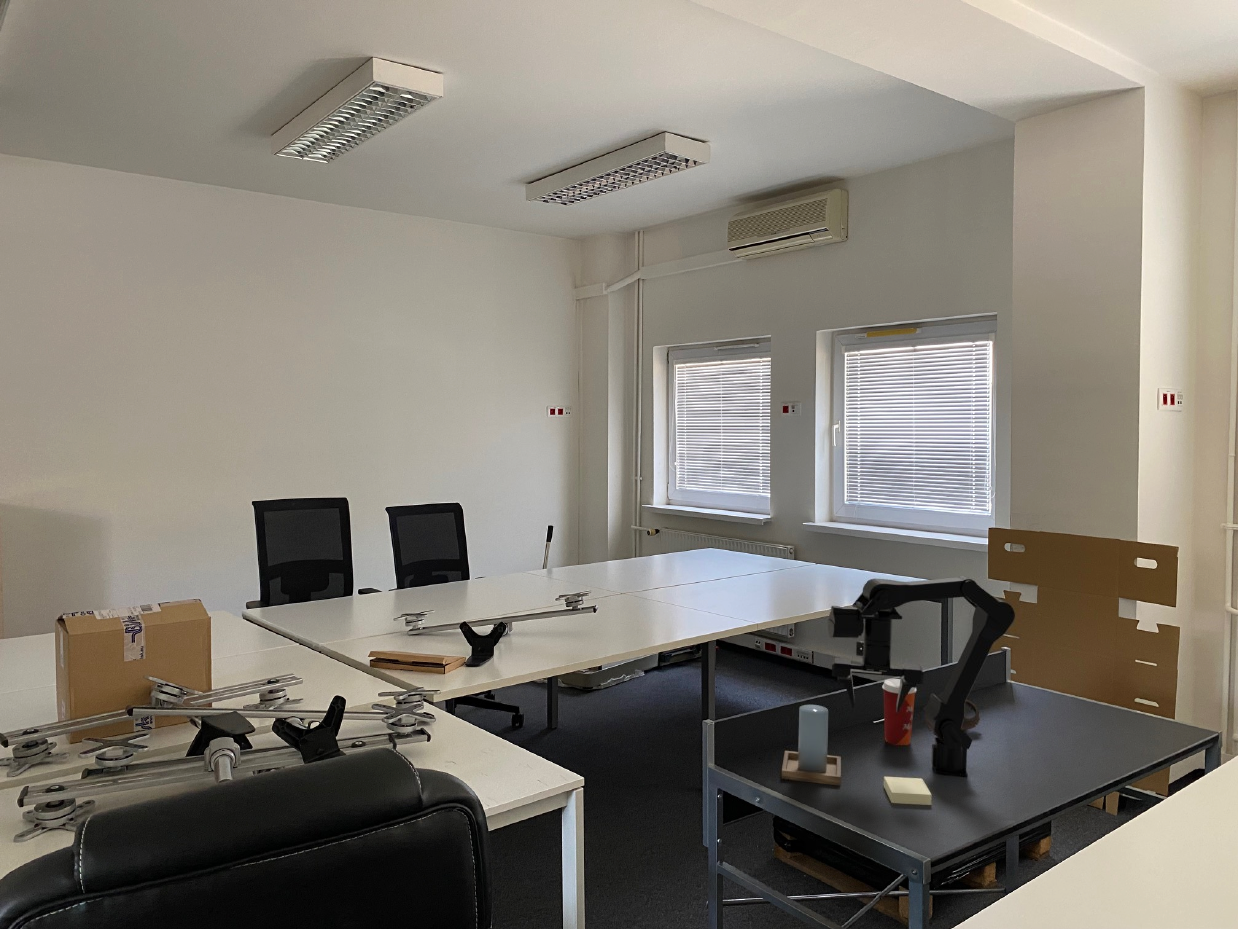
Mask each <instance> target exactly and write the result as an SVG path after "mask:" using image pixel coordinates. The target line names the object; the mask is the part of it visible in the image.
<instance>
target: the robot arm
mask: <svg viewBox="0 0 1238 929" xmlns="http://www.w3.org/2000/svg"><path fill="white" fill-rule="evenodd" d="M956 598H963V599H964V600H965V601H967V602H968V604H970V605H971V606H972V607H974V612H973V615H972V624H971V625H972V629H971V630H972V631H971V633H970V636H969V638H968V640H967V642H966V644H965V647H964V649H963V651H962V652H961V654H960V657H959V659H958V661H957V663H956V665H955V668H954V669H953V672H952V673H951V676H950V677H949V680H948V682H947V684H946V686H945V688H944V690H943V691H941V693H939V695H936V694H934V693H931V694H930V696H929V697H928V701H927V704H925V706H924V707H923V708H922V710H923V711H924V713H923V714H924V715H923V718H924V721H925V724H926V726H928V728H929V729H930V730H931V731H932V734H933V735H934V736H935V737H934V744H932V745H931V757H930V759H931V761H930V762H931V763H930V764H931V766H932V768H934V771H935V773H936V774H940V775H941V774H942V775H950V776H952V775H953V776H961V777H968V776H969V774H968V771H967V763H968V762H967V761H968V760H967V759H968V750H970V748H971V746H972V743H973V739H972V738H971V737H970V736H969V735H968V734H967V733H966V732H965V730H964V731H963V730H962V729H961V728H962V725H963V721H964V716H966V714H965V713H966V711H965V710H966V706H965V702H966V700H968V697H969V695H970V693H971V690H972V689H973V687H974V685H975V682H976V681H977V678H978V676H979V675H980V672H981V670H982V668H983V667H984V666H983V665H985V662H986V660H987V658H988V656H989V654H990V651H991V649H992V648H993V645H994V644H995V643H996V642H997V641H998V640H999V639H1000V638H1002V636H1004V635H1006V633H1007V631H1008V630H1009V629H1010V627H1012V624H1014V622H1015V619H1016V612H1015V610H1014V608H1013V607H1012V605H1011V604H1009V603H1008V602H1006V601H1004V600H1002V599H1000V598H998V597H995V596H993V595H992V594H990V593H989V592H987V590H985V589H984V588H982V587H981V586H980V585H979V584H977V582H976V581H975V580H974V579H971V578H969V577H967V576H965V575H960V576H957V577H946V578H937V579H936V578H935V579H934V578H933V579H926V580H925V579H924V580H912V581H901V580H894V579H888V578H886V579H885V578H872V579H867V581H866V582H865V583H864V584H863V587H862V592H861V593H860V595H859V596H858V597H857V599H856V600H855V601H854V602H853V604H852V605H851V606H839V605H831V607H830V612H829V614H828V615H829V616H828V618H827V631H828V636H829V638H830V639H858V638H859V637H861V636H862V634H863V641H856V643H855V645H856V646H855V656H856V657H859V658H860V657H861V658H862V664H860V663H859V664H858V663H851V662H852V660H851V658H844V657H842V658H841V657H834V658H833V659H832V660H831V661H832V664H831V677H834V678H837V681H838V682H842V683H843V686H844V687H845V690H846V692H847V695H848V698H849V701H850V704H851V708H853V709H855V706H856V704H855V703H856V702H855V692H854V685H853V684H854V682H853V674H861V675H862V674H863V675H864V674H865V675H873V676H874V675H876V676H885V677H886V676H887V677H896V678H897V677H898V678H899V677H900V678H899V679H900V687H899V693H898V699H897V712H899V711H900V709H901V706H902V704H903V702H904V700H905V697H906V696H907V694H908V693H909V691H910V689H911V688H912V687H913V688H917V687H918V686H917V685H924V670H923V668H922V666H921V665H920V664H919V663H918V664H917V663H907V662H906V663H904V662H903V663H902V665H901V666H902V667H894V666H891V664H892V663H891V662H892V636H893V635H892V634H893V633H892V630H893V620H901V621H902V619H903V615H901V614H900V613H899V612H898V611H897V609H896V608H898V607H901V606H903V605H905V604H907V603H912V602H921V601H933V600H941V599H942V600H943V599H944V600H945V599H956Z"/></svg>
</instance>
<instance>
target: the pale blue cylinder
mask: <svg viewBox="0 0 1238 929" xmlns="http://www.w3.org/2000/svg"><path fill="white" fill-rule="evenodd" d="M798 712H799V713H798V714H799V715H798V716H799V717H798V747H797V748H798V750H797V752H798V769H799V770H800V771H806V772H814V773H823V774H824V773H825V772H826V771H827V755H828V737H829V736H828V735H829V734H828V732H829V730H828V728H829V727H828V726H829V710H828V708H826V707H825V706H822V705H817V704H804V705H801V706H799V711H798Z"/></svg>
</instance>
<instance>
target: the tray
mask: <svg viewBox="0 0 1238 929" xmlns="http://www.w3.org/2000/svg"><path fill="white" fill-rule="evenodd" d="M841 759H842V758H841V756H838V755H829V754H827V771H826V772H825V773H824V774H823V773H814V772H806V771H800V770H799V769H798V751H792V750H791V751H789V750H784V755H783V761H782V766H781V779H782V780H788V779H789V780H791V781H798V782H805V783H807V782H808V783H814V784H815V783H816V784H817V783H818V784H824V785H834V786H841V780H842V779H841V778H842V777H841V776H842V774H841V773H842V770H841V769H842V767H841V766H842V765H841V764H842V760H841Z"/></svg>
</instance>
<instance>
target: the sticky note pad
mask: <svg viewBox="0 0 1238 929" xmlns="http://www.w3.org/2000/svg"><path fill="white" fill-rule="evenodd" d="M883 788H884V789H885V792H886V794H887V796H888V798H889V801H890V802H891V804H907V805H923V806H924V805H925V806H927V805H928V806H931V805H932V793H931V792H930V789H929V788H928V786H927V784H926V783H925V781H924V780H923V778H916V777H915V778H914V777H901V776H900V777H898V776H897V777H896V776H895V777H894V776H883Z"/></svg>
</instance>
